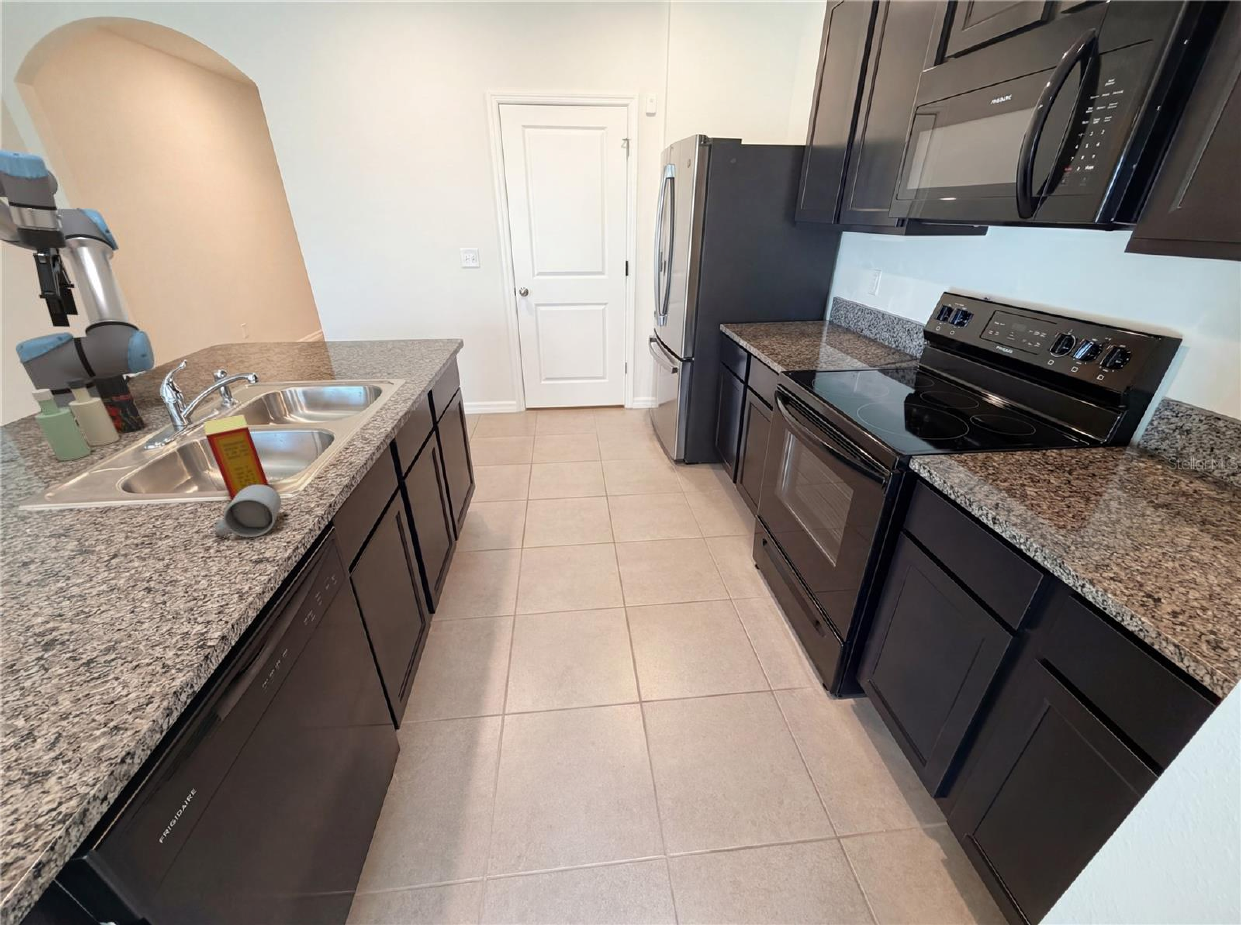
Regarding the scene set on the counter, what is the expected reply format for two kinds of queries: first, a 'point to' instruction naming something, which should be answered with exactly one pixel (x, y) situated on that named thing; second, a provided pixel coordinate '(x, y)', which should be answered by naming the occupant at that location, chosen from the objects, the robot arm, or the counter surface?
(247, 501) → the ceramic mug
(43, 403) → the bottle
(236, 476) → the baking soda box
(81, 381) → the bottle
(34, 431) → the counter surface
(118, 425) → the deodorant
